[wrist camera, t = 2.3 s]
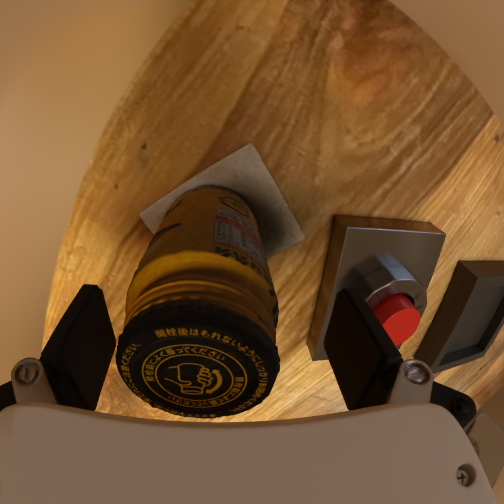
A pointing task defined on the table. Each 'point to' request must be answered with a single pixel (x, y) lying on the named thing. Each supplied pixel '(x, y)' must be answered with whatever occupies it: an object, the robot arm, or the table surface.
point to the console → (375, 266)
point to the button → (397, 317)
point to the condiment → (208, 292)
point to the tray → (466, 316)
